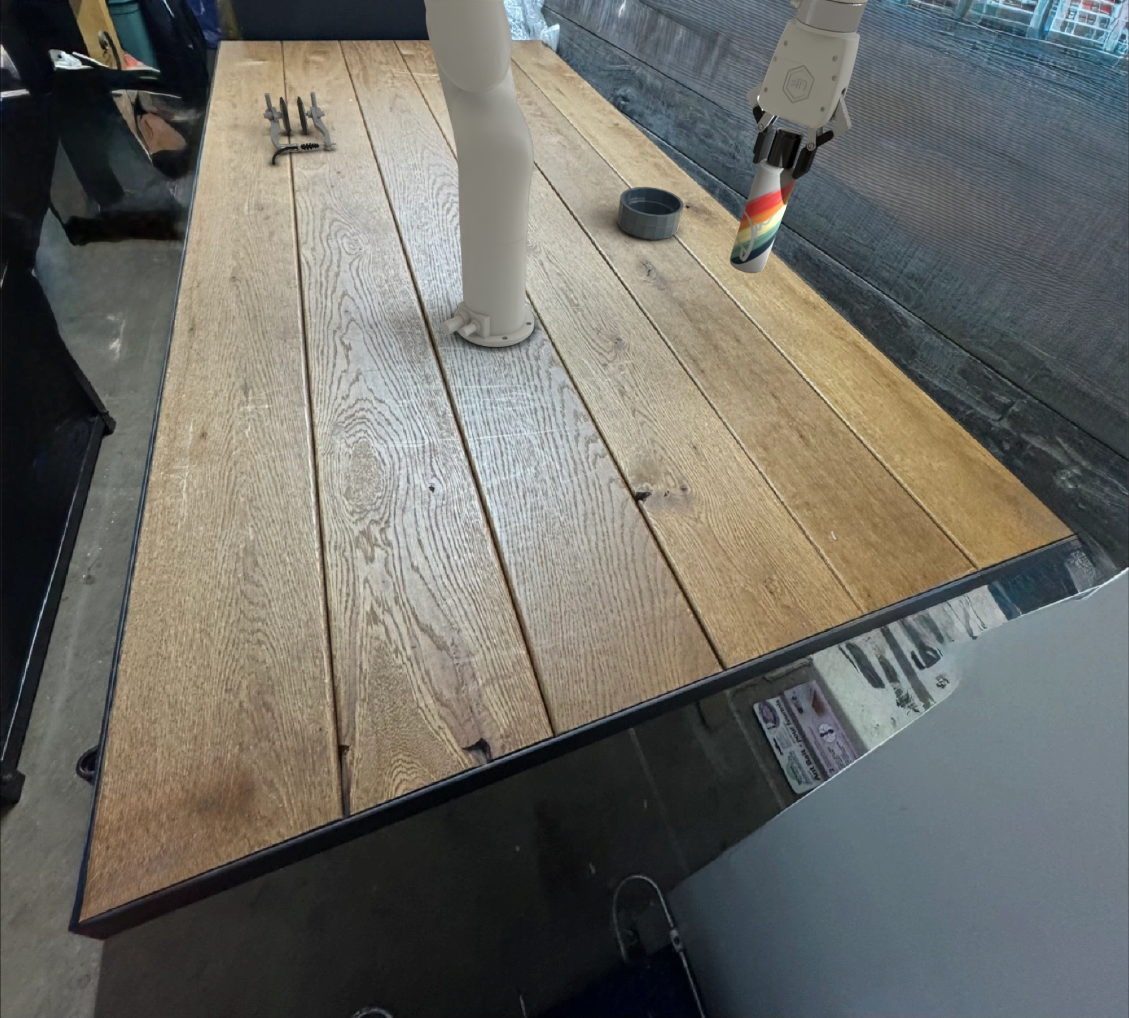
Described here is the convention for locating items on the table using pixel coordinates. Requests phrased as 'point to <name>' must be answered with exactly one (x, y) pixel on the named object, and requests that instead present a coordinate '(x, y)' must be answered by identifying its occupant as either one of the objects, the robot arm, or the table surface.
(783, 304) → the table surface
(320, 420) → the table surface
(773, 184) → the lotion bottle
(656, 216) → the bowl
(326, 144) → the bike brake
